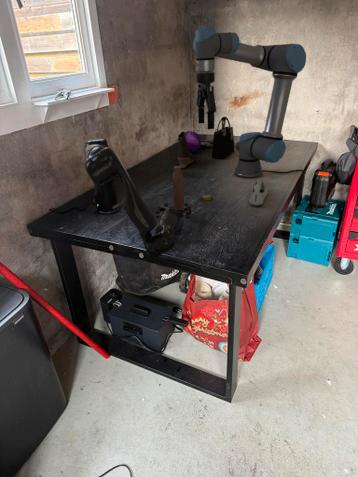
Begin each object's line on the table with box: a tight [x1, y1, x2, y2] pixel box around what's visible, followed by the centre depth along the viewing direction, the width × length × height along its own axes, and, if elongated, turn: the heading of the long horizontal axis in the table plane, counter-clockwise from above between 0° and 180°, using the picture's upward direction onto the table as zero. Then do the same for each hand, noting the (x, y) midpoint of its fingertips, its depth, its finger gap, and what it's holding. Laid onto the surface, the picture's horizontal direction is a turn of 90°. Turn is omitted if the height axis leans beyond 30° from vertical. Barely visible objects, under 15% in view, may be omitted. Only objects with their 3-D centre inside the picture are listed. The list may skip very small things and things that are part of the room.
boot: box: [176, 131, 195, 169], centre depth 209 cm, size 9×24×20 cm, turn 168°
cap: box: [201, 194, 212, 202], centre depth 162 cm, size 4×4×2 cm
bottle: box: [172, 165, 185, 209], centre depth 145 cm, size 5×5×21 cm
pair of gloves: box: [199, 134, 214, 149], centre depth 251 cm, size 30×26×5 cm
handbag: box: [211, 116, 236, 160], centre depth 219 cm, size 21×9×25 cm, turn 148°
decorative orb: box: [184, 130, 202, 154], centre depth 230 cm, size 15×15×15 cm
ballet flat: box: [249, 179, 269, 207], centre depth 158 cm, size 8×24×8 cm, turn 163°
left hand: (176, 204), depth 141 cm, fingers open, 8 cm apart
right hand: (206, 126), depth 145 cm, fingers open, 13 cm apart
